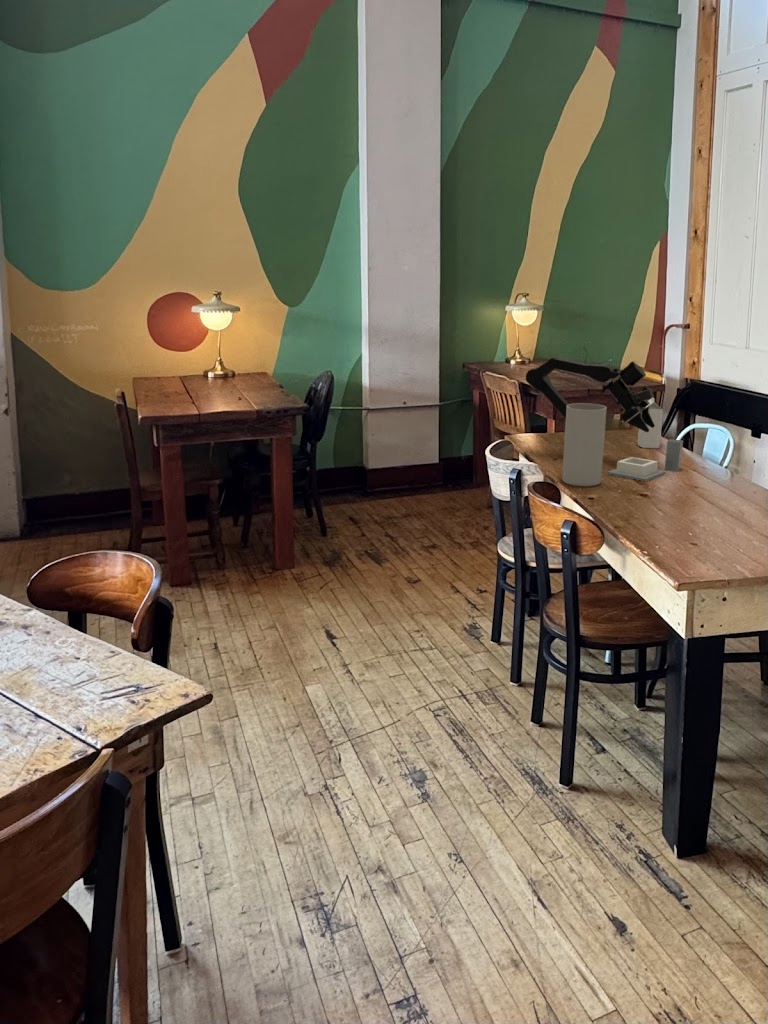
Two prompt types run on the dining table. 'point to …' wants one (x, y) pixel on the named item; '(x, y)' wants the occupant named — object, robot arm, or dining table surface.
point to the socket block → (637, 469)
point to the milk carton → (653, 435)
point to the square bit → (673, 455)
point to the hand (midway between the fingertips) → (651, 429)
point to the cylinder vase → (584, 444)
